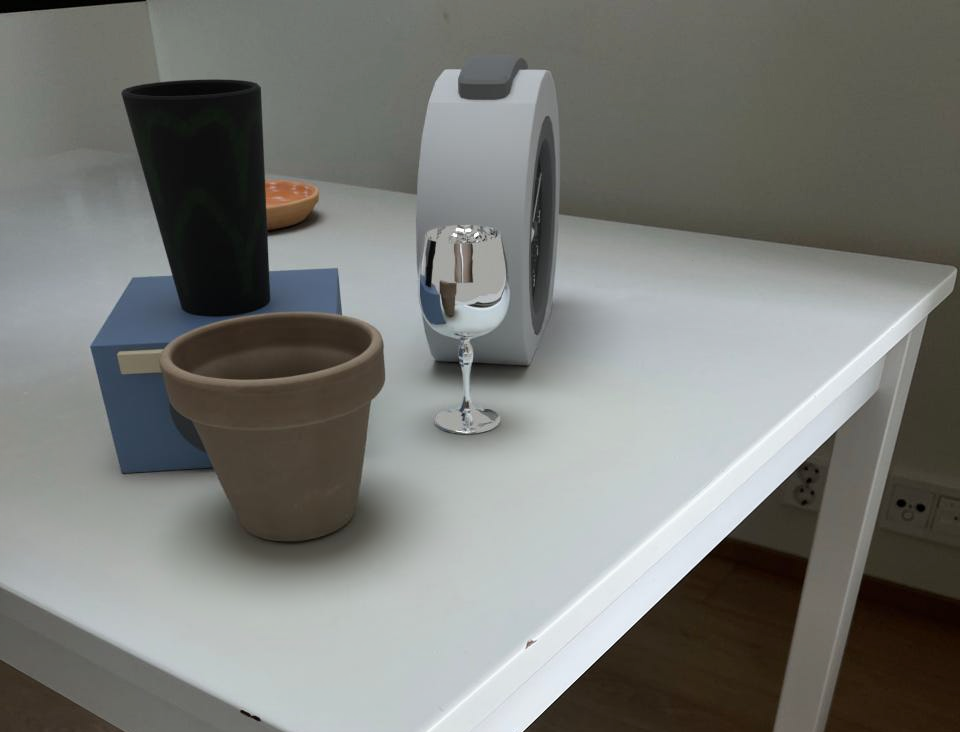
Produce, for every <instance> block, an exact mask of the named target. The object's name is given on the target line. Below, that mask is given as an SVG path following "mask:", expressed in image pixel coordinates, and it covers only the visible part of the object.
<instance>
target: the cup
mask: <svg viewBox="0 0 960 732" xmlns="http://www.w3.org/2000/svg"><path fill="white" fill-rule="evenodd" d="M120 93H121V98H122V101H123V105H124V108H125V112H126V115H127V118H128V122H129V126H130V129H131V133H132V137H133V140H134V144H135V148H136V151H137V154H138V158H139V161H140V162H139V163H140V165H141V169H142V172H143V176H144V179H145V183H146V187H147V190H148V193H149V197H150V201H151V204H152V205H151V206H152V207H153V213H154V216H155V219H156V222H157V226H158V229H159V233H160V236H161V239H162V240H161V241H162V243H163V248H164V250H165V255H166V257H167V261H168V265H169V268H170V272H171V276H173V279H174V283H175V287H176V290H177V294H178V297H179V301H180V304H181V308H182V310H184V311H185V312H187V313H190V314H193V315H198V316H209V317H220V316H232V315H239V314H245V313H249V312H253V311H256V310H259V309H261V308H263V307H265V306H266V305H267V304H268V303H269V302H270V280H269V271H270V263H269V262H270V261H269V260H270V259H269V239H268V230H267V213H266V191H265V180H266V173H265V172H266V169H265V150H264V148H265V147H264V128H263V127H264V126H263V123H264V122H263V106H262V104H263V103H262V87H261V86H260V85H259V84H258V82H254V81H248V80H241V79H216V78H215V79H214V78H213V79H208V78H207V79H182V80H169V81H157V82H150V83H143V84H138V85H133V86H130V87H126V88H124V89H123V90H122V91H121V92H120Z"/></svg>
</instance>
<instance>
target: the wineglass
mask: <svg viewBox="0 0 960 732" xmlns="http://www.w3.org/2000/svg"><path fill="white" fill-rule="evenodd" d="M417 295H418V303H419V307H420V310H421V315H422V314H423V316H424V318H425V320H426V322H427V323H428V324H429V325H430V326H431V328H432V329H434V330H435V331H437V332H438V333H440V334H442V335H444V336H446V337H449V338H452V339H456V340H461V345H460V346H459V353H458V356H459V362H458V363H459V364H460V367H461V368H460V369H461V372H462V385H463V387H462V389H463V391H462V392H463V393H462V395H463V397H462V402H461V405H459V406H455V407H451V408H447V409H444V410H442V411H441V412H439V413H438V414H436V416H435V418H434V424H435V426H436V427H437V428H439V429H440V430H442V431H444V432H449V433H452V434H458V435H472V434H473V435H474V434H480V433H485V432H488V431H491V430H493V429H495V428H497V427H498V426H499V425H500V423H501V416H500V414H499V413H498V412H496V411H494V410H492V409H490V408H487V407H483V406H476V405H474V403H473V401H472V396H471V372H472V364H473V363H472V362H473V355H474V354H473V348H472V346H471V344H470V340H472V339H477V338H480V337H482V336H485V335H487V334H489V333H491V332H492V331H494V330H495V329H496V328H497V327H498V326H499V325H500V324H501V323H502V321H503V320H504V318H505V316H506V314H507V311H508V308H509V301H510V276H509V268H508V262H507V257H506V253H505V248H504V244H503V240H502V236H501V232H500V231H499V230H497V229H495V228H492V227H487V226H481V225H451V226H444V227H438V228H435V229H432V230H429V231H427V232H426V233H425V236H424V241H423V247H422V252H421V258H420V265H419V275H418V274H417Z"/></svg>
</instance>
